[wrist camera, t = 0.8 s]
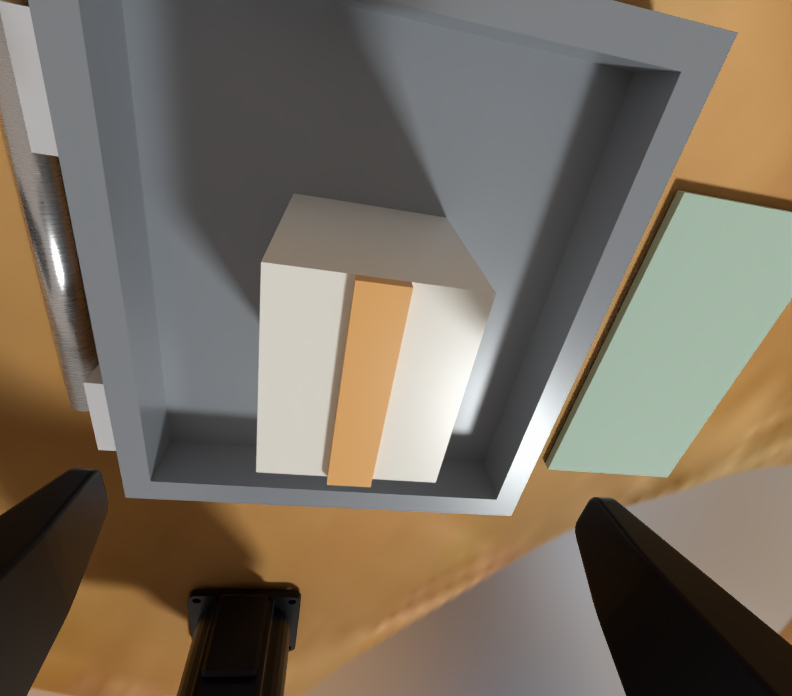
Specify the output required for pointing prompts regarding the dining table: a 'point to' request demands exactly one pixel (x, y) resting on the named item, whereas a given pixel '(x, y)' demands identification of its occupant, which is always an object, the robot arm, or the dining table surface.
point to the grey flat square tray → (347, 200)
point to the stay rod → (48, 237)
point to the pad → (680, 336)
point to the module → (364, 341)
